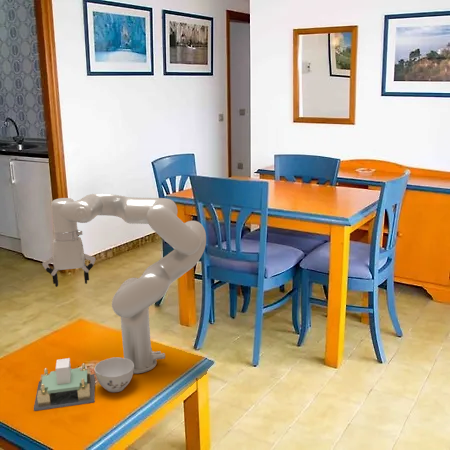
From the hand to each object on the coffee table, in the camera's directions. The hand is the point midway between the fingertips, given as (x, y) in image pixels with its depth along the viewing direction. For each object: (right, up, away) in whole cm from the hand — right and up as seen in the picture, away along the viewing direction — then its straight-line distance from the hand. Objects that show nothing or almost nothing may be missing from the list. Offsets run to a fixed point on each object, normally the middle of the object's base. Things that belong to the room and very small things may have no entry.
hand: (71, 283), depth 191 cm
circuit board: (+1, -30, -11) cm, 32 cm away
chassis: (+1, -34, -10) cm, 35 cm away
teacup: (+17, -33, -7) cm, 37 cm away
